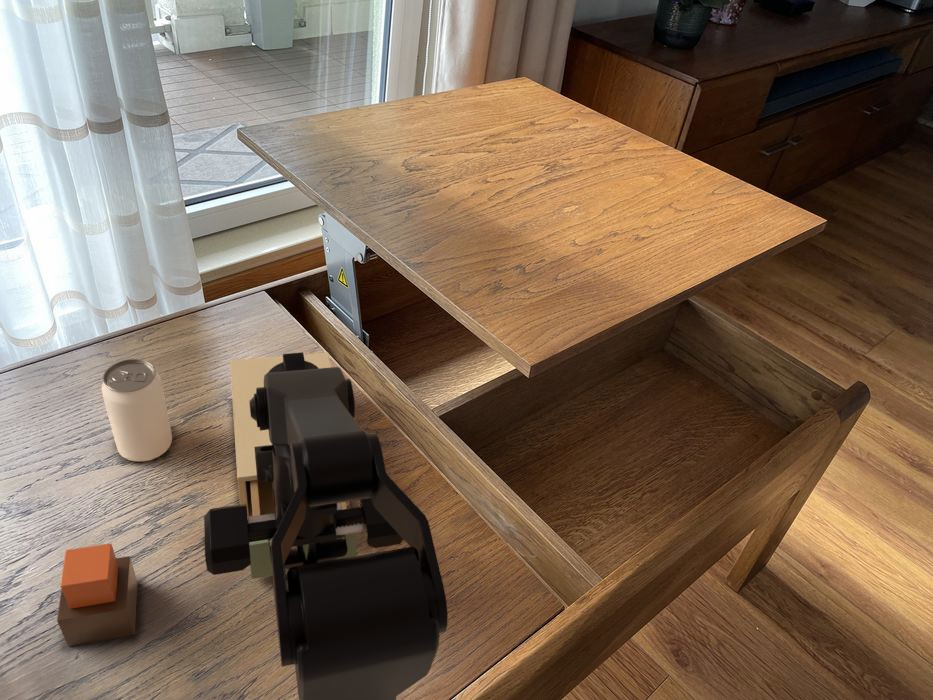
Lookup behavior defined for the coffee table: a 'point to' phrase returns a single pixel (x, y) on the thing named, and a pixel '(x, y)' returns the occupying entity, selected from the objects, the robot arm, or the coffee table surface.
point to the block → (89, 576)
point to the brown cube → (102, 612)
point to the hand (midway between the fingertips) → (307, 573)
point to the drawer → (261, 549)
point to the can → (136, 410)
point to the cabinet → (246, 431)
